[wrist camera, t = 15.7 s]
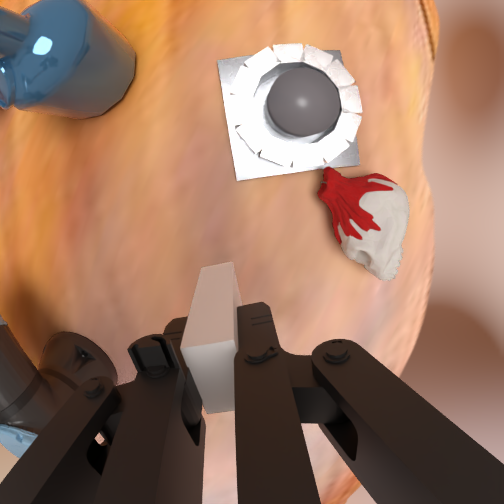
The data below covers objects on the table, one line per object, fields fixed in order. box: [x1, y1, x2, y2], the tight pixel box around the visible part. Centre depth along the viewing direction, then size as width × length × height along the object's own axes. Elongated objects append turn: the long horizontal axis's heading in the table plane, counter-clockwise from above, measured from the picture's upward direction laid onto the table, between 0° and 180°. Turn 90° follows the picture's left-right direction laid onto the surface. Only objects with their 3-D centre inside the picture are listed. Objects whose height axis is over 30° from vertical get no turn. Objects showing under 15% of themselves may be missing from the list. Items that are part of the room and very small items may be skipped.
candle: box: [317, 166, 409, 281], centre depth 34 cm, size 9×11×15 cm
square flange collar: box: [217, 43, 362, 181], centre depth 32 cm, size 16×16×6 cm
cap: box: [264, 68, 340, 138], centre depth 31 cm, size 8×8×6 cm
